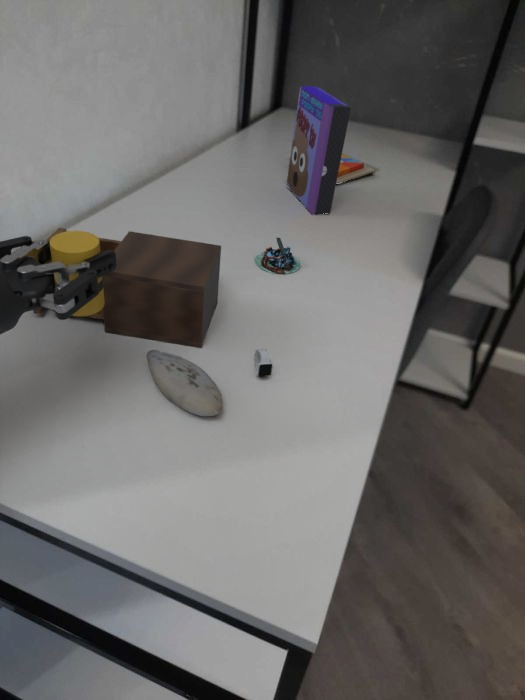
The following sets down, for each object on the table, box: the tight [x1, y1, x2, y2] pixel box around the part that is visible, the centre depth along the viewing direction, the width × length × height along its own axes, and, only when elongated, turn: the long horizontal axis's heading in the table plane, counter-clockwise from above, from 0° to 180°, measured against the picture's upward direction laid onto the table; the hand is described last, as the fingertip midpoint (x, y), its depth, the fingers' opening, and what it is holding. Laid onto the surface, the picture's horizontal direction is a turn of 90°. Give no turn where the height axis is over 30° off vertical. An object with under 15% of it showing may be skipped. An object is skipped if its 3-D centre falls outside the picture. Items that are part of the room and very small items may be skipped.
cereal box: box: [286, 85, 352, 215], centre depth 122 cm, size 17×5×24 cm, turn 18°
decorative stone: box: [145, 349, 223, 417], centre depth 69 cm, size 6×16×3 cm, turn 45°
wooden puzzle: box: [336, 153, 376, 183], centre depth 148 cm, size 18×19×4 cm
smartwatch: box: [253, 348, 274, 377], centre depth 74 cm, size 4×2×4 cm, turn 13°
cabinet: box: [103, 230, 222, 349], centre depth 80 cm, size 15×13×11 cm
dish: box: [254, 236, 301, 275], centre depth 102 cm, size 8×7×8 cm
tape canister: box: [49, 230, 105, 317], centre depth 57 cm, size 5×5×8 cm
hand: (95, 249), depth 58 cm, fingers closed on tape canister, 5 cm apart
